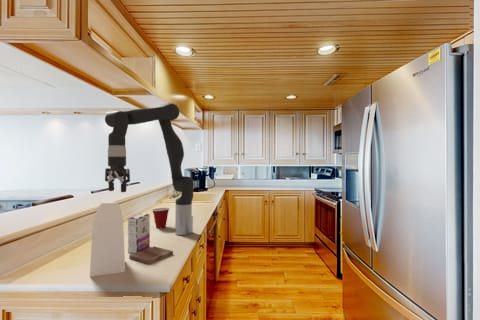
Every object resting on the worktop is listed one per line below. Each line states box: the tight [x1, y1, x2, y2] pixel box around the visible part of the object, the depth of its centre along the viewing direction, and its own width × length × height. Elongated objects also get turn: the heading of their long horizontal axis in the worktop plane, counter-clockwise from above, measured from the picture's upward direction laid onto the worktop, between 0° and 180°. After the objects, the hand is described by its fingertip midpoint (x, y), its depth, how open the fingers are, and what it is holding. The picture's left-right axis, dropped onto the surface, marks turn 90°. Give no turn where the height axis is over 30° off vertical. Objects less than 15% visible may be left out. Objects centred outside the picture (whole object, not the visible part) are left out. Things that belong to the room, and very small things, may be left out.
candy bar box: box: [127, 212, 151, 254], centre depth 130 cm, size 11×5×16 cm, turn 168°
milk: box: [89, 201, 126, 278], centre depth 108 cm, size 12×12×26 cm
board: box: [128, 246, 174, 265], centre depth 122 cm, size 14×12×2 cm
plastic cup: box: [151, 207, 170, 229], centre depth 174 cm, size 11×11×12 cm
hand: (117, 191), depth 124 cm, fingers open, 8 cm apart
